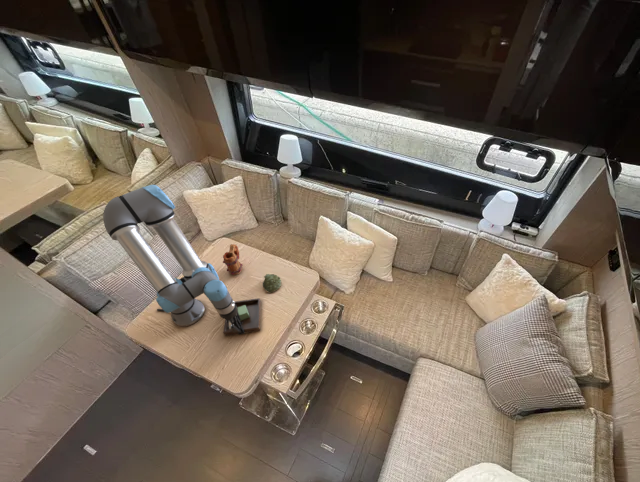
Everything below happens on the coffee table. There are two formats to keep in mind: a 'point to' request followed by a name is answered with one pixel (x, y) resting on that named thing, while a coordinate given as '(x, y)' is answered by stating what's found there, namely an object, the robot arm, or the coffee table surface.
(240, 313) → the block
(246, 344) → the coffee table surface
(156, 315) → the coffee table surface
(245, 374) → the coffee table surface
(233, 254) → the brown animal figurine
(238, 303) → the tray
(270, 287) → the green bumpy lump
